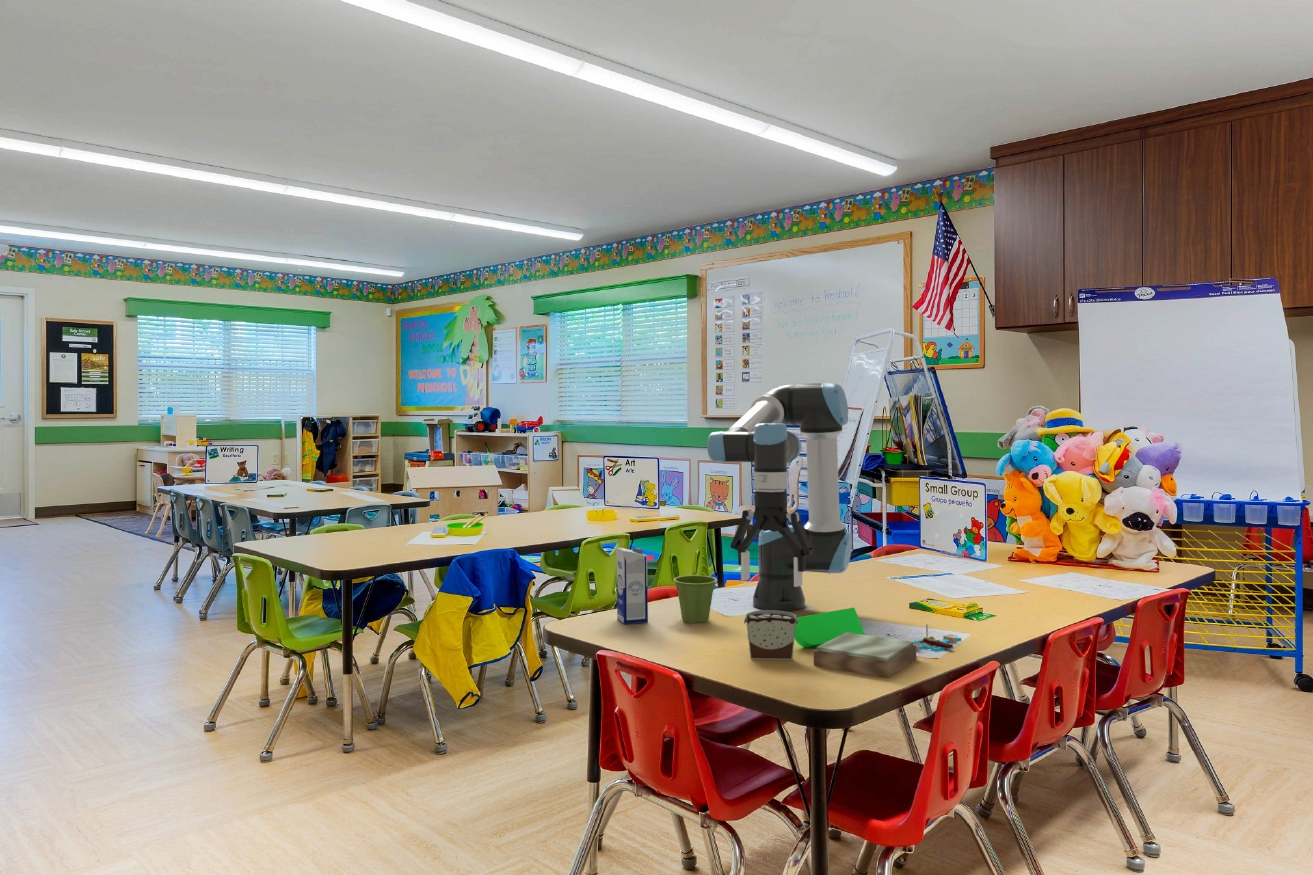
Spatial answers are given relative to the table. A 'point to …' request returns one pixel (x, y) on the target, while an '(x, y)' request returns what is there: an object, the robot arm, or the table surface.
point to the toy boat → (935, 642)
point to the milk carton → (632, 586)
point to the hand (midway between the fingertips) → (771, 582)
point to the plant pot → (695, 597)
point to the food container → (771, 634)
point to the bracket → (826, 627)
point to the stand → (865, 654)
